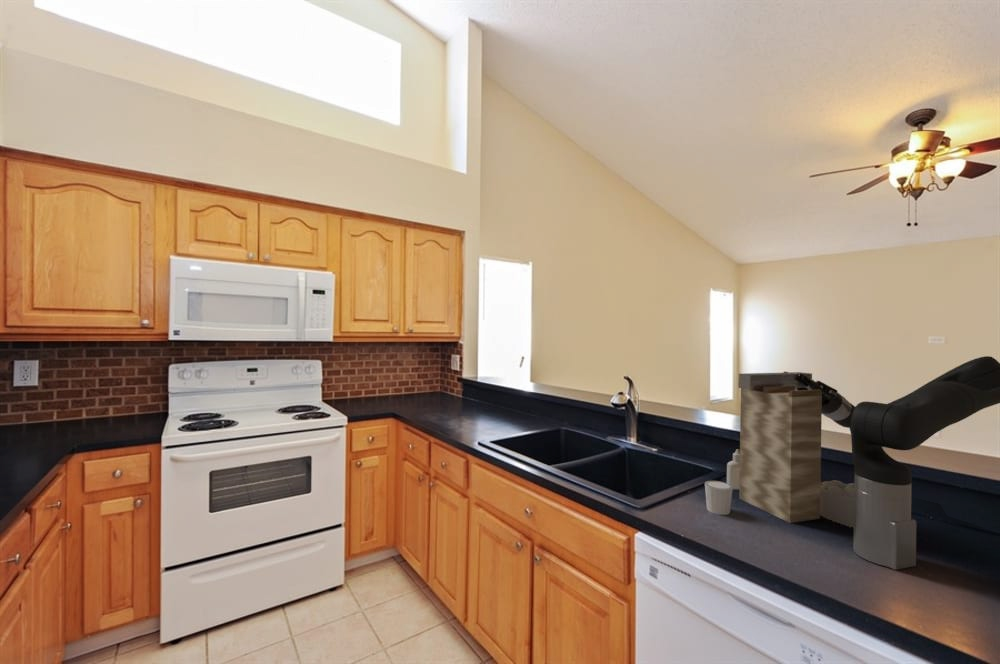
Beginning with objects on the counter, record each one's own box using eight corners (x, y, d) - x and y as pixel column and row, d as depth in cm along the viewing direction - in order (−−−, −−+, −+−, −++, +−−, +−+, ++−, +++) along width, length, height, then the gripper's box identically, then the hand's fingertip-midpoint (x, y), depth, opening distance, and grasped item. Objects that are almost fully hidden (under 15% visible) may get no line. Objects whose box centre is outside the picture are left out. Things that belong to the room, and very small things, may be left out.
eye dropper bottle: (747, 492, 130) (748, 452, 130) (726, 488, 133) (727, 450, 132) (746, 487, 134) (747, 448, 134) (726, 484, 136) (726, 446, 136)
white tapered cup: (730, 518, 112) (730, 491, 112) (701, 511, 116) (701, 485, 116) (734, 509, 117) (735, 483, 117) (707, 503, 122) (707, 478, 122)
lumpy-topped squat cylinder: (858, 531, 105) (859, 496, 105) (805, 510, 118) (805, 478, 117) (886, 525, 109) (886, 491, 109) (831, 505, 121) (831, 474, 121)
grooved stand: (820, 518, 112) (821, 390, 112) (790, 522, 109) (791, 391, 109) (766, 495, 128) (768, 382, 127) (739, 498, 125) (740, 383, 125)
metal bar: (811, 387, 124) (812, 373, 124) (750, 389, 118) (750, 375, 118) (798, 385, 128) (798, 372, 128) (738, 387, 122) (738, 373, 122)
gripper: (849, 419, 121) (809, 390, 117) (801, 409, 135) (764, 383, 131) (859, 395, 122) (820, 365, 118) (811, 388, 136) (774, 361, 132)
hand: (790, 375), depth 124 cm, fingers closed on metal bar, 4 cm apart
